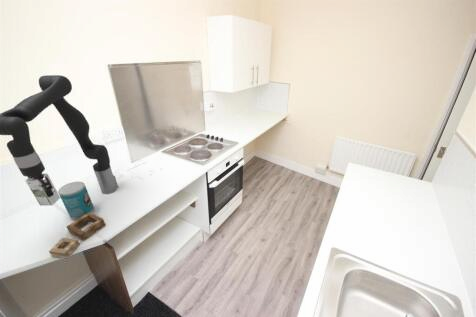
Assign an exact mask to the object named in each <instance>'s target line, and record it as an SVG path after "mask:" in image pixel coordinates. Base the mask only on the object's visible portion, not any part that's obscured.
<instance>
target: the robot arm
mask: <svg viewBox="0 0 476 317" xmlns="http://www.w3.org/2000/svg"><path fill="white" fill-rule="evenodd" d="M38 85H39V87H40V90H41V91H39V92H37V93H35V94H32V95H30V96H28V97H26V98H24V99H23V100H21V101H19V103H17V104H16V105H14V107H12V108H10V109H7V110H5V111H3V112H1V113H0V136H12V140H9V141H8V142H7V143H6V147H7V149H8V151H9V153H10V155H11V156H12V158H13V161H14V163H15V164H16V166H17V168H18V170H19V172H20V173H21V174H22V176H24V177H27V179H28V178H32V177H34V178H33V180H35V179H37V180H39V181H40V182H41V183H42V185H41V186H40V185H39V184H38V185H39V187H42V188H43V190H44V191H45V193H46V195H47V196H48V197H51V196H53V195H54V194H53V192H52V190H51V189H52V188H53V187H52V185H51V183H50V181H49V179H48V178H47V177H44V176H43V175H42V174H43V173H44V172H45V169H46V167H45V165H44V163H43V161H42V159H41V157H40V156H39V154H38V153H37V151H36V149H35V148H34V145H33V144H32V142H31V136H30V128H29V124H27V123H29V122H31V121H34V119H36V117H38V116H39V115H40V114H41V113H42V112H43V111H45V110H46V109H47V108H48V107H50V106H51V105H53V106H54V107H55V109H56V111H57V112H58V113H59V115H60V116H61V117H62V119H63V121H64V122H65V124H66V126H67V127H68V129H69V130H70V132H71V133H72V134H73V137H74V138H75V140H76V141H77V143H78V145H79V146H80V149H81V150H82V152H83V154H84V156H85V157H86V158H88V159H89V160H97V162H95V163H94V164H93V165H92V169H93V171H94V175H95V177H96V179H97V182H98V186H99V188H100V192H101V193H102V194H105V195H106V194H107V195H108V194H112V193H115V192H116V191H117V189H118V188H119V185H118V181H117V178H116V175H114V174H113V171H112V167H111V159H110V156H109V152H108V148H107V147H106V146H105V145H104V144H94V143H93V142H92V140H91V138H90V136H89V135H90V124H89V122H88V120H87V119H86V116H85V115H84V114H83V113H82V112H81V111H80V110H79V109H78V108H76V107H75V106H73V105H72V104H71V103H69V101H67V100H66V99H65V97H66V96H68V95H69V94H70V93H71V92H72V91H73V86H72V82H71V81H70V79H69V78H68V77H66V76H65V75H60V74H59V75H57V74H53V75H52V74H51V75H42V76H40V77H39V79H38ZM30 176H31V177H30ZM46 186H48V187H46Z"/></svg>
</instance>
